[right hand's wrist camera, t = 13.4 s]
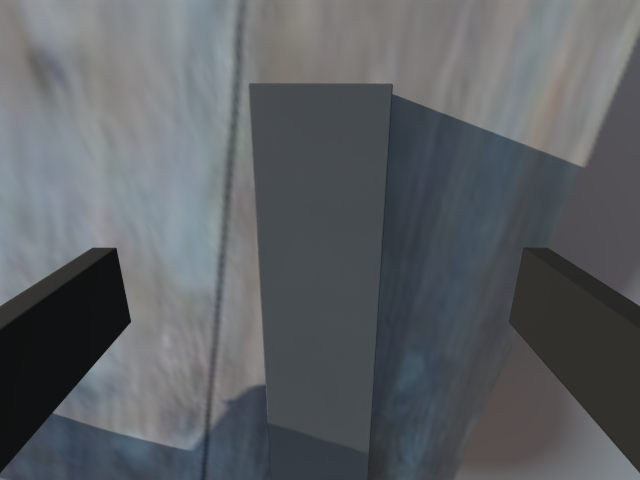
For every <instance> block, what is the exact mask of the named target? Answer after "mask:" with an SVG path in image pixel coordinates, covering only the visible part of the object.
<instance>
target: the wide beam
mask: <svg viewBox="0 0 640 480" xmlns="http://www.w3.org/2000/svg"><path fill="white" fill-rule="evenodd" d="M248 88H249V105H250V122H251V139H252V157H253V174H254V191H255V208H256V225H257V243H258V260H259V277H260V294H261V312H262V329H263V346H264V363H265V380H266V398H267V415H268V432H269V449H270V466H271V480H368V465H369V450H370V434H371V418H372V403H373V387H374V371H375V355H376V340H377V324H378V308H379V293H380V277H381V261H382V245H383V230H384V214H385V198H386V183H387V167H388V151H389V135H390V120H391V104H392V88H393V85H392V84H282V83H249V84H248Z"/></svg>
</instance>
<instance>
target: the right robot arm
mask: <svg viewBox="0 0 640 480" xmlns="http://www.w3.org/2000/svg"><path fill="white" fill-rule="evenodd" d="M130 323H131V319H130V314H129V309H128V304H127V299H126V294H125V289H124V284H123V279H122V274H121V269H120V264H119V259H118V254H117V249H116V248H92V249H90V250H88V251H87V252H85V253H84V254H82V255H80V256H79V257H77V258H76V259H74V260H73V261H71V262H69V263H68V264H66V265H65V266H63V267H62V268H60V269H58V270H57V271H55V272H54V273H52V274H50V275H49V276H47V277H46V278H44V279H43V280H41V281H39V282H38V283H36V284H35V285H33V286H32V287H30V288H28V289H27V290H25V291H24V292H22V293H20V294H19V295H17V296H16V297H14V298H13V299H11V300H9V301H8V302H6V303H5V304H3V305H2V306H0V473H1V471H2V470H3V469H4V468H5V467H6V466H7V465H8V463H9V462H10V461H11V460H12V459H13V458H14V456H15V455H16V454H17V453H18V452H19V451H20V450H21V448H22V447H23V446H24V445H25V444H26V443H27V441H28V440H29V439H30V438H31V437H32V436H33V435H34V433H35V432H36V431H37V430H38V429H39V428H40V426H41V425H42V424H43V423H44V422H45V421H46V419H47V418H48V417H49V416H50V415H51V414H52V413H53V411H54V410H55V409H56V408H57V407H58V406H59V404H60V403H61V402H62V401H63V400H64V399H65V398H66V396H67V395H68V394H69V393H70V392H71V391H72V389H73V388H74V387H75V386H76V385H77V384H78V383H79V381H80V380H81V379H82V378H83V377H84V376H85V374H86V373H87V372H88V371H89V370H90V369H91V368H92V366H93V365H94V364H95V363H96V362H97V361H98V359H99V358H100V357H101V356H102V355H103V354H104V353H105V351H106V350H107V349H108V348H109V347H110V346H111V344H112V343H113V342H114V341H115V340H116V339H117V338H118V336H119V335H120V334H121V333H122V332H123V331H124V329H125V328H126V327H127V326H128V325H129V324H130ZM509 323H510V324H511V325H512V326H513V327H514V328H515V329H516V331H517V332H518V333H519V334H520V335H521V336H522V337H523V339H524V340H525V341H526V342H527V343H528V344H529V346H530V347H531V348H532V349H533V350H534V351H535V352H536V354H537V355H538V356H539V357H540V358H541V359H542V361H543V362H544V363H545V364H546V365H547V366H548V368H549V369H550V370H551V371H552V372H553V373H554V374H555V376H556V377H557V378H558V379H559V380H560V381H561V382H562V384H563V385H564V386H565V387H566V388H567V389H568V391H569V392H570V393H571V394H572V395H573V396H574V398H575V399H576V400H577V401H578V402H579V403H580V404H581V406H582V407H583V408H584V409H585V410H586V411H587V413H588V414H589V415H590V416H591V417H592V418H593V419H594V421H595V422H596V423H597V424H598V425H599V426H600V428H601V429H602V430H603V431H604V432H605V433H606V434H607V436H608V437H609V438H610V439H611V440H612V441H613V443H614V444H615V445H616V446H617V447H618V448H619V449H620V451H621V452H622V453H623V454H624V455H625V456H626V458H627V459H628V460H629V461H630V462H631V463H632V465H633V466H634V467H635V468H636V469H637V470H638V471H639V473H640V306H638V305H637V304H635V303H634V302H632V301H631V300H629V299H627V298H626V297H624V296H623V295H621V294H620V293H618V292H616V291H615V290H613V289H612V288H610V287H608V286H607V285H605V284H604V283H602V282H600V281H599V280H597V279H596V278H594V277H593V276H591V275H589V274H588V273H586V272H585V271H583V270H582V269H580V268H578V267H577V266H575V265H574V264H572V263H570V262H569V261H567V260H566V259H564V258H563V257H561V256H559V255H558V254H556V253H555V252H553V251H552V250H550V249H548V248H524V249H523V254H522V259H521V264H520V269H519V274H518V279H517V284H516V289H515V294H514V299H513V304H512V309H511V314H510V319H509Z"/></svg>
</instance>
